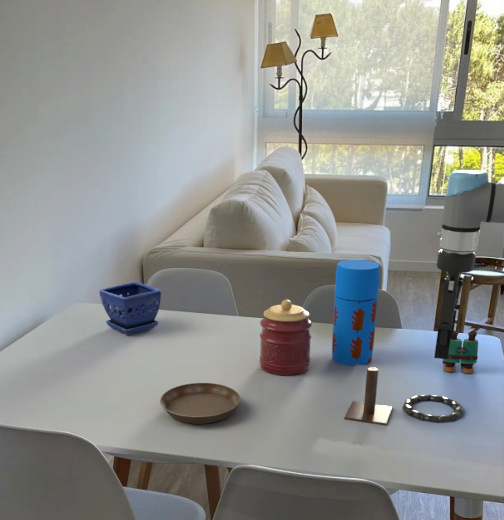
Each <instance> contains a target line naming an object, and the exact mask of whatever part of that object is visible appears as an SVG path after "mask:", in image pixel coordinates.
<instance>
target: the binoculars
mask: <svg viewBox="0 0 504 520" xmlns="http://www.w3.org/2000/svg"><path fill="white" fill-rule="evenodd" d="M458 335H459V331H457V330H454V332H453V338H452V339H450V346H449V353H448V359H442V364H444V365H443V371H445V372H447V373H453V372H455V371H456V364H460V367H461V368H462V373H465V374H473V373H474V365H475V364H477V362H478V358H479V357H478V354H479V353H478V351H479V340H478V339H476V337H477V336H478V331H476V330H473V331H469V332H468V333H467V336H468V338H464V339H463V340H462V339H461V338H458Z"/></svg>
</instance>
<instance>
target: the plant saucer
mask: <svg viewBox="0 0 504 520" xmlns="http://www.w3.org/2000/svg"><path fill="white" fill-rule="evenodd" d="M240 402H241V396H240V394H239V393H238V391H237V390H235V389H234V388H231V387H230V386H227V385H225V384H224V385H223V384H219V383H212V382H193V383H186V384H181V385H177V386H175V387H172V388H170V389H168V390H166V391H164V393H163V394H162V395H161V397H160V398H159V403H160V406H161V407H162V408H163V410H164V411H165V412H166V413H167V414H168V415H169V416H171V417H172V418H173V419H175V420H177V421H179V422H182V423H188V424H196V425H202V424H211V423H216V422H219V421H222V420H224V419H225V418H227V417H229V416H230V415H231V414H233V412H234V411H235V410H236V409H237V408H238V406H239V404H240Z"/></svg>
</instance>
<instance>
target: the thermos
mask: <svg viewBox="0 0 504 520" xmlns="http://www.w3.org/2000/svg"><path fill="white" fill-rule="evenodd" d="M380 269H381V268H380V264H379V263H378V262H375V261H371V260H365V259H346V260H341V261H339V262H337V264H336V269H335V286H334V304H333V319H332V320H333V322H332V339H331V358H332V360H333V361H334V362H336V363H337V364H340V365H346V366H363V365H367V364H369V363H370V362H372V359H373V351H374V345H375V335H376V322H377V321H376V320H377V309H378V308H377V307H378V300H379V299H378V297H379V287H380V275H381V274H380Z"/></svg>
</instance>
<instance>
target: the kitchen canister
mask: <svg viewBox="0 0 504 520" xmlns="http://www.w3.org/2000/svg"><path fill="white" fill-rule="evenodd" d="M263 316H264V317H263V318H262V319H261V320H260V321H259V325H260V326H261V332H260V333H259V338H260V351H259V353H260V355H259V364H260V368H261V369H262V370H263V371H265V372H267V373H269V374H273V375H280V376H293V375H299V374H302V373H304V372H306V371H308V370H309V368H310V364H311V339H312V334H311V331H310V328H311V327H312V326H313V323H312V321H311V319H309V316H310V313H309V311H307V310H305V309H304V308H303V307H302V306H299V305H297V304H292V301H291V300H289V299H284V300H282V301H281V304H275V305H272V306H270V307H269V308H267V309H266V310H264V312H263Z"/></svg>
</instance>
